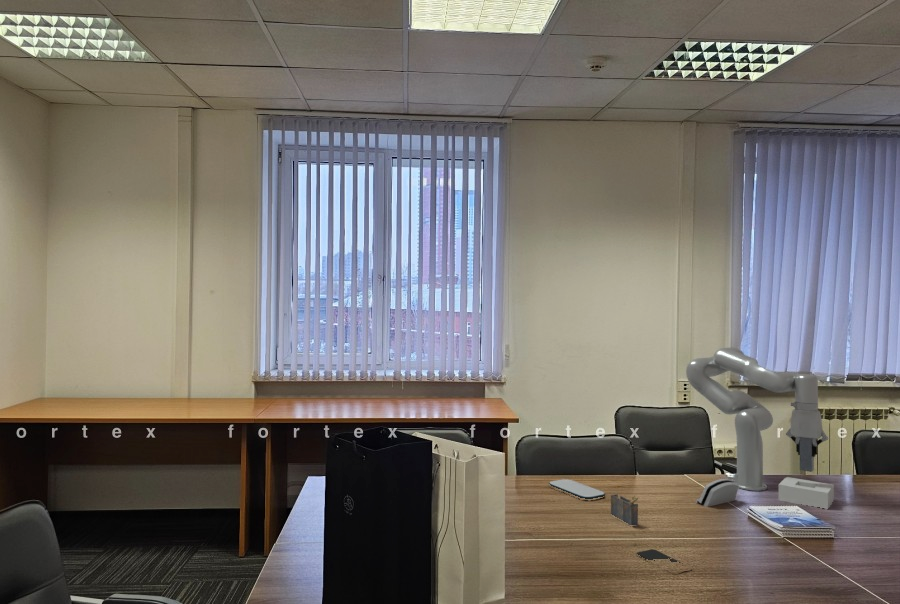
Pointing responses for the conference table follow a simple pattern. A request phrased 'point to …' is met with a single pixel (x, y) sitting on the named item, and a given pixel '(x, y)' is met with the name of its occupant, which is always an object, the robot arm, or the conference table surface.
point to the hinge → (718, 492)
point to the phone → (654, 555)
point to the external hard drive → (577, 489)
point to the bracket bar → (806, 454)
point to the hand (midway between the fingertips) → (806, 454)
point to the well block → (806, 492)
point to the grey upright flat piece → (625, 509)
